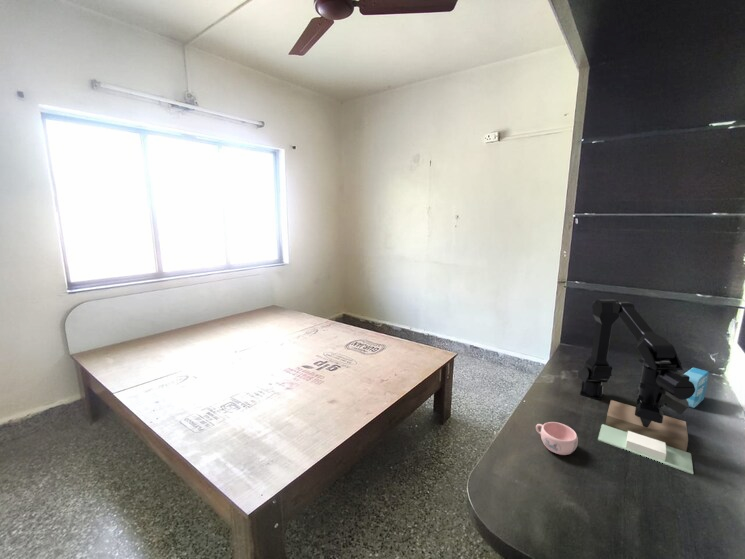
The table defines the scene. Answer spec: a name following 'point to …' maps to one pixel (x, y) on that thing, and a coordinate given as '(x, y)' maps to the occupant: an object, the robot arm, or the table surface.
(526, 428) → the table surface
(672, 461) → the mat
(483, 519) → the table surface
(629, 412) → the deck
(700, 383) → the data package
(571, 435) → the mug
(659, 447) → the tile
